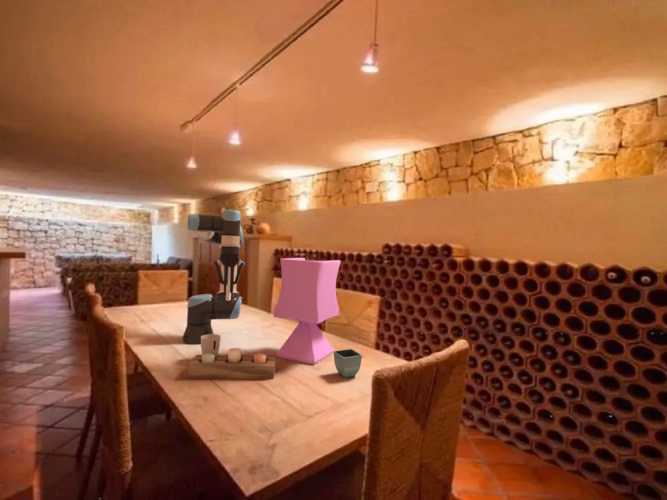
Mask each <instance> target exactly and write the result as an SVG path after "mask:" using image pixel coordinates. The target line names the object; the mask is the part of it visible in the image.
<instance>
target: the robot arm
mask: <svg viewBox="0 0 667 500" xmlns="http://www.w3.org/2000/svg"><path fill="white" fill-rule="evenodd" d="M241 218H242V217H241V211H240V210H235V209H224V210H222V215H215V214H214V215H213V214H212V215H211V214H199V213H189V214H188V215H187V221H186V224H187V230H188V231H193V232H195V235H196V237H197V238H198V239H199V240H201V241H203V242H205V243H210V244H215V245H216V244H217V245H218V247H219V248H220V256H219V259H218V260H216V261H213V264H214V266H215V267H216V271H217V276H218V281H219V291H218V292H217V293H216V296H213V295H212V294H211V293H204V294H197V295H192V296H190V297H189V298H188V300H187V306H186V307H187V317H186V326H185V330H184V332H183V334H182V342H183V344H184V343H185V344H190V345H198V344H199V345H201V336H203V335H208V334H215V333H214V331H213V327H212V321H213V320H214V321H215V320H236V319H237V320H238V318H239V316H240V313H241V306H242V300H243V297H242V296H240V292H238V290H237V288H238V287H237V286H238V285H237V284H238V283H239V280H240V277H241V274H242V273H241V272H242V270H243V267H244V266H245V264H246V263H245V261H242V260H241V258H240V248H241V246H242V245H243V243H244V236H243V235H244V234H243V228H242V226H241V220H242V219H241Z"/></svg>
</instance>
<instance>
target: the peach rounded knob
mask: <svg viewBox="0 0 667 500" xmlns="http://www.w3.org/2000/svg"><path fill="white" fill-rule="evenodd" d="M227 355H228V363H240V362H241V355H242V349H241V348H239V347H234V348H229V349H228V354H227Z"/></svg>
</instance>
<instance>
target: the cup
mask: <svg viewBox="0 0 667 500" xmlns="http://www.w3.org/2000/svg"><path fill="white" fill-rule="evenodd" d="M220 342H221V335H220V334H216V333H214V334H208V335H203V336H201V344H200V348H201V349H200V350H201V355H203V354H206V353H213V354H215V355H219V351H220V347H221V346H220V345H221V343H220Z"/></svg>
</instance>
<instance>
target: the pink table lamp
mask: <svg viewBox="0 0 667 500" xmlns="http://www.w3.org/2000/svg"><path fill="white" fill-rule="evenodd" d="M340 266H341V260H338V259H336V260H306V258H305V257H287V258H280V269H281V285H280V290H279V291H280V293H279V296H278V299H277V302H276V304H275V308H274V310H273V318H279V319H289V320H290V319H291V320H294V321H299V322H298V324H297V325H296V327H295V328H294V330H293V331H292V332H291V333H290V335H289V336H288V338H287V339H286V340H285V342H283V344H282V346H281V347H280V348H279V349H278V351H277V352H276V358H279V359H282V360H283V359H284V360H287V359H288V361H292V360H293V362H296V361H297V362H298V363H301V362H302V363H301V364H305V365H306V364H307V365H310V364H311V366H316V365H317V364H319V363H320V362H322V361H323V360H325V359H326V358H328V357H329V356H328V355H330V354H331V353H332V352H333V353H334V348H333V347H332V345H331V343H330V342H329V341H328V339H327V338H326V336H325V335H324V333H323V332H322V331H321V329H320V328H319V326H318V324H320V323H323V322H324V321H325V320H327V319H329V318H333V317H335V318H336V317H337V316H339V315H340V307H339V303H338V298H337V291H336V290H337V288H336V287H337V277H338V272H339V269H340ZM331 355H332V354H331ZM331 355H330V356H331ZM327 356H328V357H327ZM325 357H326V358H325ZM324 358H325V359H324ZM322 359H323V360H322ZM321 360H322V361H321ZM319 361H320V362H319ZM318 362H319V363H318ZM315 364H316V365H315Z"/></svg>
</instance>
